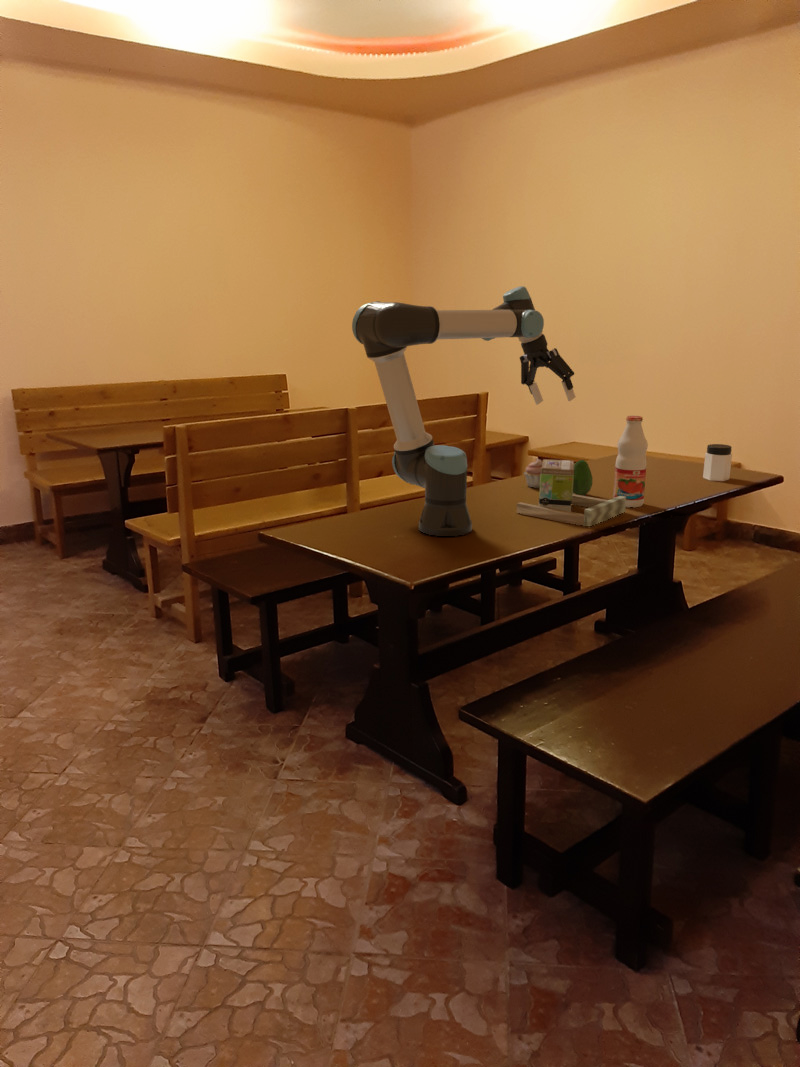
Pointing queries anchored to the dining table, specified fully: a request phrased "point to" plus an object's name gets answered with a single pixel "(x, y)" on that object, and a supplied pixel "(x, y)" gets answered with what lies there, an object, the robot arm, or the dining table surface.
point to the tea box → (556, 484)
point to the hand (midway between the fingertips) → (555, 401)
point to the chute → (592, 515)
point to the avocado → (582, 478)
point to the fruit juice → (631, 463)
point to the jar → (717, 462)
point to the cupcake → (533, 473)
